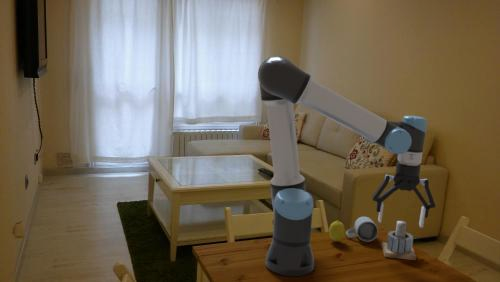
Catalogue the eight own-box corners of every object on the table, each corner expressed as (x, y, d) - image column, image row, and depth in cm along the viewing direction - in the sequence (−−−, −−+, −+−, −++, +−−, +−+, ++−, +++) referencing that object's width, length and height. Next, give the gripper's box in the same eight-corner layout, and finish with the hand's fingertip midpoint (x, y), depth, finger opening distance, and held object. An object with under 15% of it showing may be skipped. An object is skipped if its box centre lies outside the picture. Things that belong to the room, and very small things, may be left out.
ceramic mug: (372, 233, 175) (373, 214, 174) (377, 242, 167) (379, 222, 165) (344, 232, 175) (345, 213, 174) (348, 241, 167) (349, 221, 166)
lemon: (324, 241, 166) (326, 219, 164) (334, 237, 170) (336, 216, 168) (337, 246, 162) (339, 224, 160) (346, 242, 166) (348, 221, 164)
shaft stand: (384, 256, 155) (388, 225, 153) (381, 246, 164) (384, 216, 162) (415, 260, 154) (419, 229, 152) (410, 249, 162) (414, 219, 160)
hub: (388, 252, 155) (390, 238, 154) (385, 243, 163) (386, 229, 162) (413, 255, 154) (415, 241, 153) (409, 245, 162) (410, 232, 161)
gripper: (371, 161, 151) (363, 222, 155) (451, 169, 147) (441, 232, 151) (369, 156, 158) (361, 215, 162) (445, 164, 155) (435, 224, 159)
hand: (400, 223), depth 157 cm, fingers open, 13 cm apart
